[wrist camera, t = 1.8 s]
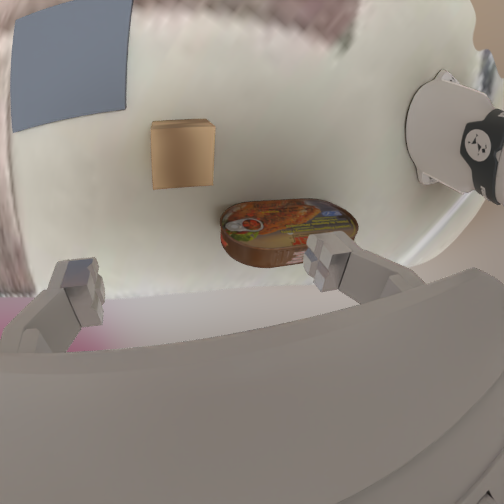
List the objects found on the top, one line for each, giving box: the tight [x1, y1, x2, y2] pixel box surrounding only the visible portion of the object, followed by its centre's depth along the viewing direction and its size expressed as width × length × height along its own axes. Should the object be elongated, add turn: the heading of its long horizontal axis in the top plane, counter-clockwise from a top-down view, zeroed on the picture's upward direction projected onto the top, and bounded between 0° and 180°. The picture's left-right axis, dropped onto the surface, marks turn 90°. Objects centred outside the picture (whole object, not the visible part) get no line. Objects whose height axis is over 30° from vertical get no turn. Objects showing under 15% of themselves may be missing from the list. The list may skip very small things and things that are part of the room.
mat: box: [10, 0, 133, 133], centre depth 15 cm, size 12×12×1 cm
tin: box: [220, 199, 359, 268], centre depth 29 cm, size 15×3×8 cm, turn 85°
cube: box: [151, 119, 215, 190], centre depth 23 cm, size 5×5×5 cm
